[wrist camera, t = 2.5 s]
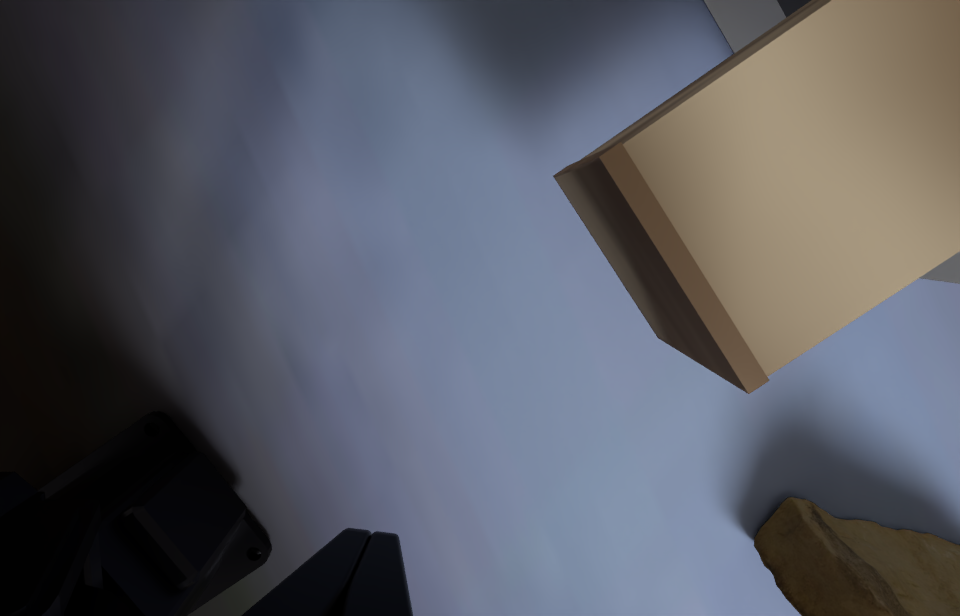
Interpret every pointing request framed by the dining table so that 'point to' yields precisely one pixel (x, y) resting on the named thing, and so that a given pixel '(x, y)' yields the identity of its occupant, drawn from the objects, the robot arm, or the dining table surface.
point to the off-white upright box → (751, 12)
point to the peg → (786, 184)
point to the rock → (857, 565)
